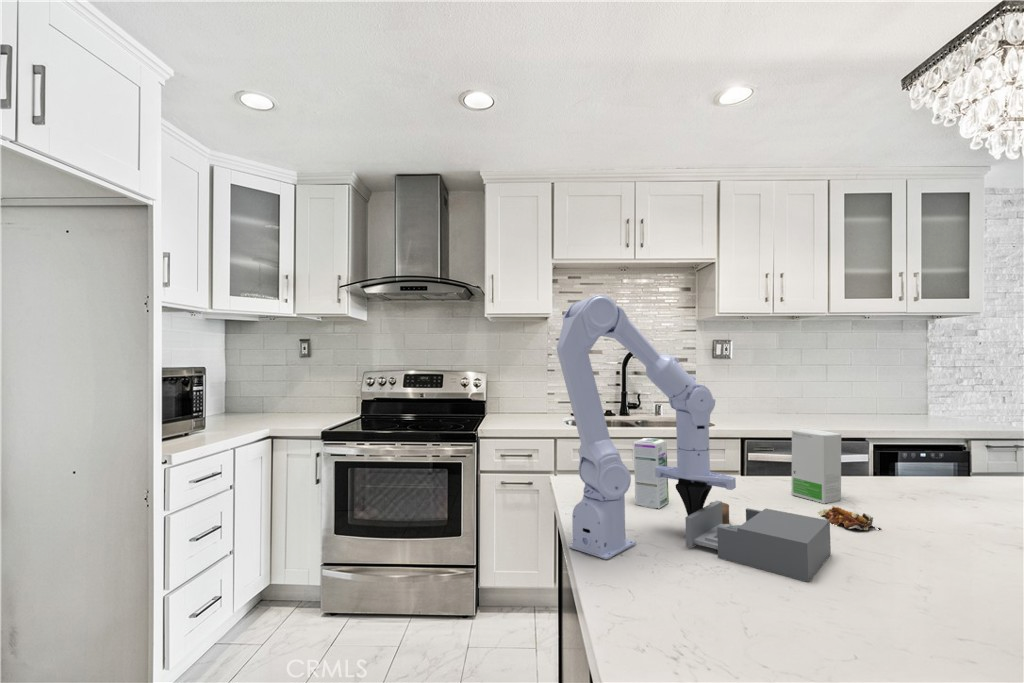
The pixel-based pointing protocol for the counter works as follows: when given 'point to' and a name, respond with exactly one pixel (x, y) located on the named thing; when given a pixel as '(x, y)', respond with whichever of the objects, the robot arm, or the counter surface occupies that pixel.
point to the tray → (704, 526)
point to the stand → (725, 513)
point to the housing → (777, 543)
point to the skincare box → (816, 465)
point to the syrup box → (650, 472)
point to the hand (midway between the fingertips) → (694, 521)
